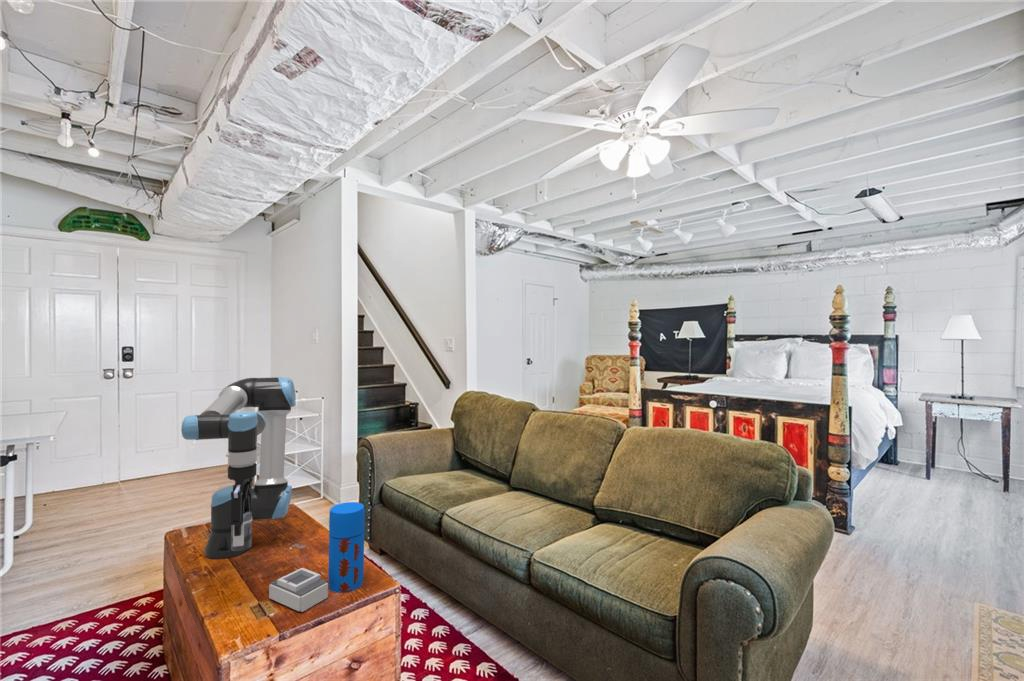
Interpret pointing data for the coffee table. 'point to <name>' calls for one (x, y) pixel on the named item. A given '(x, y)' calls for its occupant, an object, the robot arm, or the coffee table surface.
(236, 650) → the coffee table surface
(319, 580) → the grey square frame
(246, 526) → the lens
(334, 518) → the thermos
